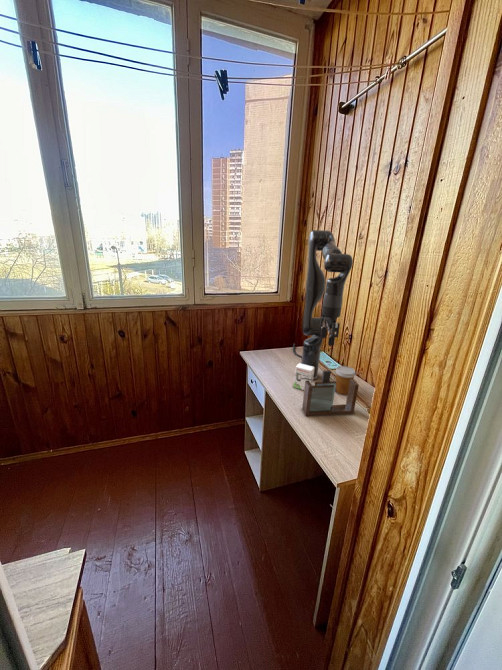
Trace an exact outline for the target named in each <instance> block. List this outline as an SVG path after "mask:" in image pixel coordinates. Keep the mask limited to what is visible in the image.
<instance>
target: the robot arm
mask: <svg viewBox="0 0 502 670" xmlns="http://www.w3.org/2000/svg"><path fill="white" fill-rule="evenodd" d="M307 248H308V253H307V255H308V256H307V257H308V258H307V273H306V280H305V281H306V283H305V298H304V299H305V300H304V309H303V315H302V323H301V330H302V331H301V332H302V334H303V335H304V336H310V337H308V338H306V339H305V340H303V345H302V354H298V353H297V352H296V351H295V348H296V347H295V345H296V343H295V342H294V343H293V345H292V352H293V354H294V355H295V356H297V357H299V358H301V362H300V363H301V364H305V365H309V366H312V367H314V368H315V369H314V376H313V380H316V379H318V373H319V367H320V366H319V365H320V358H321V349H322V345H323V341H324V339H327V334H328V336H329V337H328V341H327V345H328V346H331V347H333V346H334V345H335V340H336V338H339V332H340V326H341V323H340V322H337V319H338V318H340V317H341V314H342V307H343V301H344V300H343V299H344V289H345V285H346V281H347V279H348V277H349V274H350V272H351V270H352V267H353V265H354V259H353V257H352V255H351V254H349V253H343V252H342V251H341V249H340V248H339V247H338V246H337V242H336V239H335V236H334V234H333V232H332V231H330V230H321V229H320V230H319V229H318V230H317V229H316V230H311V231H310V232H309V235H308V247H307ZM316 251H317V252H321V255H322V258H323V259H324V263H323V267H324V270H325V271H326V272H329V273H339V274H338V275H337V276H334V277H330V278H327V280H326V276H325V273H324V271H323V270H322V268H321V266H320V264H319V262H318V259H317V253H316ZM321 299H323V300H322V307H321V315H320V316H319V317H317V316H316V317H315V316H314V317H313V314H314V311H315V308H316V307H317V305H318V304H319V302H320V301H321Z"/></svg>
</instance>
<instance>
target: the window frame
mask: <svg viewBox="0 0 502 670" xmlns="http://www.w3.org/2000/svg"><path fill="white" fill-rule="evenodd" d="M359 386H360V384H359V383H358V382H357V381H356V380H355V378H354V379H350V383H349V389H348V394H346V395H347V396H346V402H345V404H333V405H332V407H331V402H332V395H333V389H334V385H316V386H314V385H313V384H312V385H311V383H310V381H305V388H304V390H303V397H302V407H301V409H302V411H303V412H302V413H303V414H304V416H305V417H311V416H331V415H333V416H334V415H348V414H350V415H353V414H354V413H355V408H356V403H357V396H358V391H359Z"/></svg>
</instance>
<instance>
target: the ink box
mask: <svg viewBox="0 0 502 670" xmlns="http://www.w3.org/2000/svg"><path fill="white" fill-rule="evenodd" d="M314 369H315V368H314V367H312V366H309V365H305V364H301V362H299V363H297V364H296V365H295V370H294V371H295V372H294V377H293V388H295V389H297V390H298V389H299V390H302V391H304V388H305V381H310V383H311V385H312V386H313V384H314V383H313V382H314V379H313V376H314Z"/></svg>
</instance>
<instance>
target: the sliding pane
mask: <svg viewBox="0 0 502 670" xmlns="http://www.w3.org/2000/svg"><path fill="white" fill-rule="evenodd" d="M331 375H332V371H331V370H330V369H329V370H322V375H321V380H320V381H314V385H313V386H316V385H334V389H333V395H332V402H331V407H332V405H334V398H335V391H336V380H331Z"/></svg>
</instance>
